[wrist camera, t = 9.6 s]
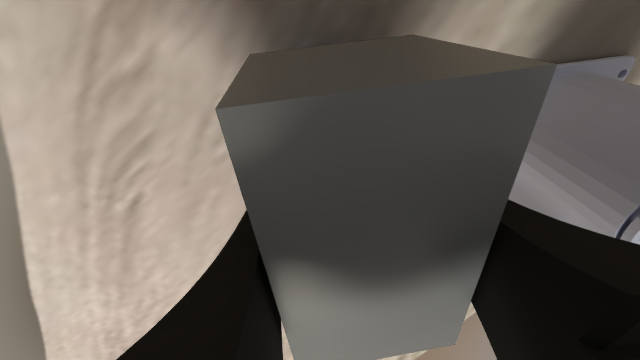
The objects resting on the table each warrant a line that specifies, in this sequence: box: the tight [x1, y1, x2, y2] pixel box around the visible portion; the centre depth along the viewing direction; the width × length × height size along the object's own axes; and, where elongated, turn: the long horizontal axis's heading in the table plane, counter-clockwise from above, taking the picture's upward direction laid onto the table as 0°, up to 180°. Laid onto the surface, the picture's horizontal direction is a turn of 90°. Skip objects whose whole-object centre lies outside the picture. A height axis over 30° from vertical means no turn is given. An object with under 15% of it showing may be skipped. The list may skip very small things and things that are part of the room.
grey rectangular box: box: [215, 35, 557, 360], centre depth 10 cm, size 10×6×6 cm, turn 5°
